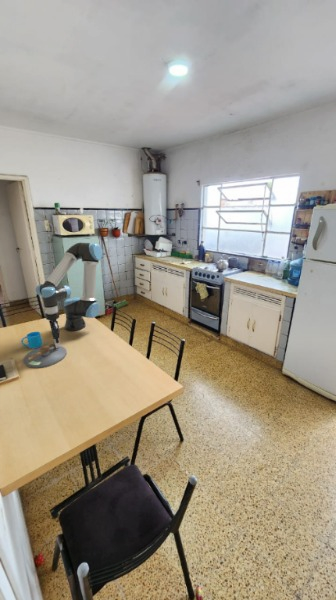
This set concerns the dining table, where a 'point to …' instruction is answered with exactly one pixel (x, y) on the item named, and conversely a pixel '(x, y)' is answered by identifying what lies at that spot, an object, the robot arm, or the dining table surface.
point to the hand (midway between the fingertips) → (57, 346)
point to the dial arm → (44, 349)
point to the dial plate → (44, 357)
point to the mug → (33, 340)
